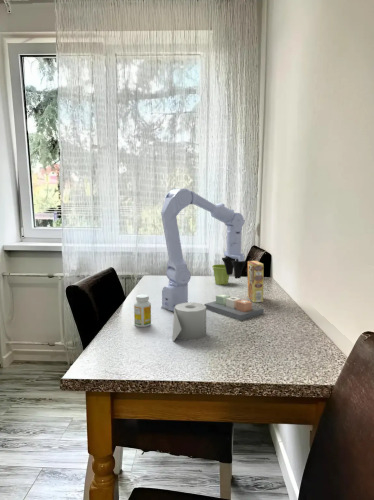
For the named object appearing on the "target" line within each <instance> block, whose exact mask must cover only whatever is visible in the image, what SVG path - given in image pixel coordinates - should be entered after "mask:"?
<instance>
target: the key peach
mask: <svg viewBox="0 0 374 500" xmlns="http://www.w3.org/2000/svg"><path fill="white" fill-rule="evenodd" d="M252 305H253V301H252V300H251V301H250V300H247V299H241V301H237V307H236V310H239V311H242V312H247V311H251V310H252Z"/></svg>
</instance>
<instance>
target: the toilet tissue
mask: <svg viewBox="0 0 374 500" xmlns="http://www.w3.org/2000/svg"><path fill="white" fill-rule="evenodd" d="M172 323H173V324H172V335H171V336H172V337H171V338H172V342H173V343H174V341H175V340H176V339H177V338H178V339H179V340H183V341H199V340H201V339H204V338H205V337H206V335H207V309H206V306H205V305H204V304H203V303H199V302H194V301H193V302H188V303H181V304H177V305H176V306H175V307H174V311H173V322H172Z"/></svg>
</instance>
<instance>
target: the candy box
mask: <svg viewBox="0 0 374 500" xmlns="http://www.w3.org/2000/svg"><path fill="white" fill-rule="evenodd" d="M264 268H265V267H264V263H262V262H260V261H258V260H248V261H247V297H248V299H250V300H251V302H252V303H263V302H264Z"/></svg>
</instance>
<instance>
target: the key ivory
mask: <svg viewBox="0 0 374 500" xmlns="http://www.w3.org/2000/svg"><path fill="white" fill-rule="evenodd" d="M241 300H242V298H240V297H235V296H230V298H226V307H229V308H233V309H235V308H236V307H237V301H241Z"/></svg>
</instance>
